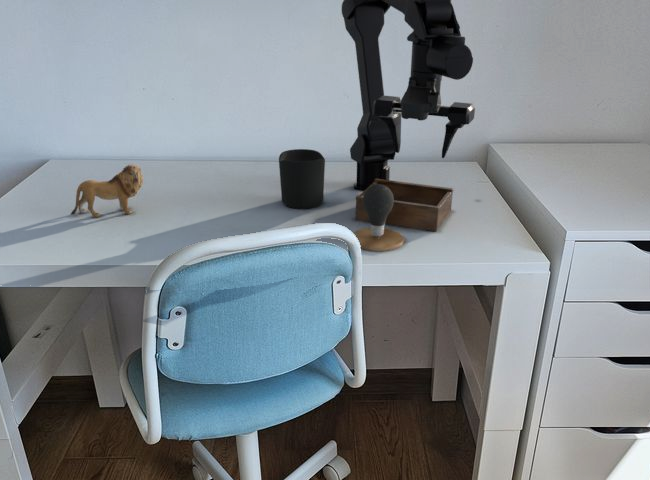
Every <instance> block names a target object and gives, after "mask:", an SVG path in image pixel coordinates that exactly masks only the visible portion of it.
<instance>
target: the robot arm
mask: <svg viewBox="0 0 650 480" xmlns="http://www.w3.org/2000/svg"><path fill="white" fill-rule="evenodd" d="M391 7H392V8H393V9H395V10H397V11H398V12H400V13H402V14H403V16H404V22H405V23H406V24H407V25H408V26H409V27H410V28H411V29H412V32H411V33H409V34H408V36H406V41H408V42H412V43H411V59H410V60H411V61H410V76H409V77H408V83H407V84H408V85H407V88H406V91H405V92H404V94H403V96H402V98H401V97H400V96H394V95H385V90H384V81H383V80H384V79H383V71H382V62H381V51H380V43H379V38H380V35H381V33H382V30H383V28H384V26H385V15H386V13H387V12H388V11H389V9H390V8H391ZM341 15H342V17H343V21H344V26H345V27H344V28H345V30H346V32H347V33H348V35H349V36H350V38H351V39H352V40H353V42H354V44H355V54H356V62H357V63H356V65H357V72H358V73H357V74H358V80H359V81H358V82H359V89H360V96H361V97H360V99H361V108H362V116H361V118H360V121H359V123H358V126H357V128H356V131H357V136H356V137H357V138H356V139H355V140H354V142H353V144H352V145H351V146H350V148H349V153H350V159H351V160H353V161H355V162H356V180H355V182H356V183H355V184H354V185H353V189H355V190H363V191H364V190H366V189H367V188H368V187H369V186H370V185H371V184H372V183H373V182H374V180H375V179H384V180H390V168H391V167H390V166H389V161H393V160H395V156H396V154H399V153H400V151H401V144H402V140H401V139H402V119H404V120H409V119H412V120H413V119H414V120H417V121H425V120H427V119H428V117H429V116H434V117H443V118H447V119H448V122H447V123H446V124H445V133H444V138H443V144H442V148H441V159H445V157H446V156H447V153H448V151H449V148H450V146H451V144H452V141H453V139H454V137H455V135H456V133H457V131H458V130H459V129H462V128H463V127H464V126H467V125H470V124H471V123H472V122H473V120H475V113H476V107H475V106H474V104H473V103H470V102H458V101H454V102H452V104H451V105H450V106H449V105H448V106H446V105H442V96H441V85H442V84H441V83H442V81H443V79H442V78H443V77H445V78H448V79H452V80H457V81H458V80H462V79H464V78H465V77H466V76H467V75H468V74H469V73H470V71H471V69H472V67H473V63H474V57H473V54H472V50H471V49H470V48H469V46H467V44H466V37H465V36H462V33H461V30H460V29H461V26H460V24H459V21H458V19H457V15H456V12H455V8H454V5H453V4H452V0H343V1H342V3H341Z"/></svg>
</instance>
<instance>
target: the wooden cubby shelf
mask: <svg viewBox="0 0 650 480" xmlns="http://www.w3.org/2000/svg"><path fill="white" fill-rule="evenodd" d="M375 184H382V185H385V186H387V187H388V188H389V189H390V190H391V192H392V193H393V197H394V204H393V207H392V209H391V211H390V212H389V214H388V216H387V218H386V222H385V224H384V225H389V226H396V227H402V228H409V229H416V230H423V231H430V232H437V231H438V230H439V229H440V227H441V226H442V224H443V223H444V222H445V220H446V219H447V217H448V216H449V214H450V213H451V212H452V206H453V205H452V203H453V194H454V188H452V187H445V186H438V185H430V184H422V183H414V182H406V181H398V180H391V179H389V180H384V179H375V180H374V182H373V183H372V184H371V185H370V186H372V185H375ZM370 186H369V187H370ZM369 187H368V188H369ZM368 188H367V189H368ZM367 189H366V190H367ZM366 190H363V191H362V192H361V193H360V194H357V195H356V196H355V221H360V222H361V221H362V222H368V223H370V220H369V216H368V214H367V212H366V210H365V208H364V205H363V196H364V193H365V192H366Z"/></svg>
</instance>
